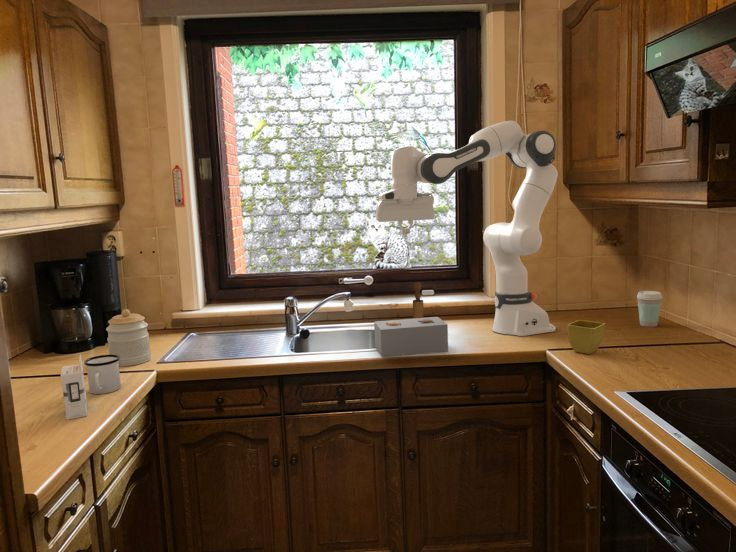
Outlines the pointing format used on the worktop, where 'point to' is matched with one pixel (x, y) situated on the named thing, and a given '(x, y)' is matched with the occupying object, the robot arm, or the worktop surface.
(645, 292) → the coffee cup
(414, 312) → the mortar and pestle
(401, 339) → the socket block
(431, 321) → the walnut dowel
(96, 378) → the mug
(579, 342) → the flower pot
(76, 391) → the ink box
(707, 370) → the worktop surface
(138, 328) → the jar
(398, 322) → the beech dowel
